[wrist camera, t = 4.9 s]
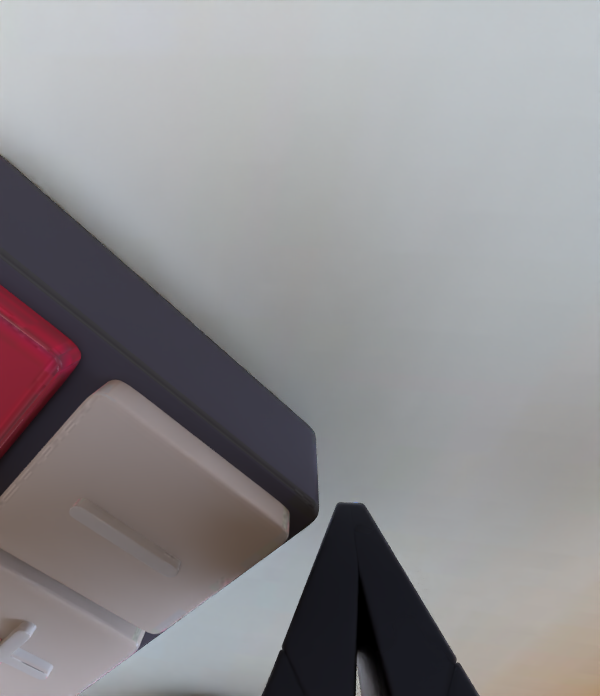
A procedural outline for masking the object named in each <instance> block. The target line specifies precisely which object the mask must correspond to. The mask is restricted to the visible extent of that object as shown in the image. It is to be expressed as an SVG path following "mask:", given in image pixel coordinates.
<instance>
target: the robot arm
mask: <svg viewBox="0 0 600 696" xmlns="http://www.w3.org/2000/svg"><path fill="white" fill-rule="evenodd" d="M456 660H457V659H456V656H455V655H454V653H453V651H452V650H451V648H450V646H449V645H448V643H447V641H446V640H445V638H444V636H443V635H442V633H441V631H440V630H439V628H438V626H437V625H436V623H435V621H434V620H433V618H432V616H431V615H430V613H429V611H428V610H427V608H426V606H425V605H424V603H423V601H422V600H421V598H420V596H419V595H418V593H417V591H416V590H415V588H414V586H413V585H412V583H411V581H410V580H409V578H408V576H407V575H406V573H405V571H404V570H403V568H402V566H401V565H400V563H399V561H398V560H397V558H396V556H395V555H394V553H393V551H392V550H391V548H390V546H389V545H388V543H387V541H386V540H385V538H384V536H383V535H382V533H381V531H380V530H379V528H378V526H377V525H376V523H375V521H374V520H373V518H372V516H371V515H370V513H369V511H368V510H367V508H366V507H365V505H364V504H362V503H344V502H339V503H338V504H337V505H336V507H335V510H334V512H333V515H332V518H331V520H330V523H329V525H328V528H327V531H326V533H325V536H324V538H323V541H322V543H321V546H320V549H319V551H318V554H317V556H316V559H315V562H314V564H313V567H312V569H311V572H310V575H309V577H308V580H307V582H306V585H305V587H304V590H303V593H302V595H301V598H300V600H299V603H298V606H297V608H296V611H295V613H294V616H293V619H292V621H291V624H290V626H289V629H288V632H287V634H286V637H285V639H284V642H283V644H282V650H280V652H279V654H278V657H277V659H276V662H275V664H274V667H273V670H272V672H271V675H270V677H269V679H268V682H267V684H266V687H265V689H264V691H263V694H262V696H356V669H358V676H359V683H360V690H361V696H479V694H478V693H477V691H476V689H475V688H474V686H473V684H472V683H471V681H470V679H469V678H468V676H467V674H466V673H465V671H464V669H463V668H462V666H461V664H460V663H456Z"/></svg>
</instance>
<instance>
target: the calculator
mask: <svg viewBox="0 0 600 696" xmlns="http://www.w3.org/2000/svg"><path fill="white" fill-rule="evenodd" d="M318 512H319V498H318V474H317V454H316V438H315V433H314V431H313V430H312V429H311V428H310V427H309V426H308V425H307V424H306V423H305V422H304V421H303V420H302V419H301V418H299V417H298V416H297V415H296V414H295V413H294V412H293V411H291V410H290V409H289V408H288V407H287V406H286V405H285V404H284V403H282V402H281V401H280V400H279V399H278V398H277V397H276V396H274V395H273V394H272V393H271V392H270V391H269V390H268V389H266V388H265V387H264V386H263V385H262V384H261V383H260V382H258V381H257V380H256V379H255V378H254V377H253V376H252V375H250V374H249V373H248V372H247V371H246V370H245V369H244V368H242V367H241V366H240V365H239V364H238V363H237V362H236V361H234V360H233V359H232V358H231V357H230V356H229V355H228V354H227V353H225V352H224V351H223V350H222V349H221V348H220V347H219V346H217V345H216V344H215V343H214V342H213V341H212V340H211V339H209V338H208V337H207V336H206V335H205V334H204V333H203V332H201V331H200V330H199V329H198V328H197V327H196V326H195V325H193V324H192V323H191V322H190V321H189V320H188V319H187V318H185V317H184V316H183V315H182V314H181V313H180V312H179V311H178V310H176V309H175V308H174V307H173V306H172V305H171V304H170V303H168V302H167V301H166V300H165V299H164V298H163V297H162V296H160V295H159V294H158V293H157V292H156V291H155V290H154V289H152V288H151V287H150V286H149V285H148V284H147V283H146V282H144V281H143V280H142V279H141V278H140V277H139V276H138V275H136V274H135V273H134V272H133V271H132V270H131V269H130V268H129V267H127V266H126V265H125V264H124V263H123V262H122V261H121V260H119V259H118V258H117V257H116V256H115V255H114V254H113V253H111V252H110V251H109V250H108V249H107V248H106V247H105V246H103V245H102V244H101V243H100V242H99V241H98V240H97V239H95V238H94V237H93V236H92V235H91V234H90V233H89V232H87V231H86V230H85V229H84V228H83V227H82V226H81V225H80V224H78V223H77V222H76V221H75V220H74V219H73V218H72V217H70V216H69V215H68V214H67V213H66V212H65V211H64V210H62V209H61V208H60V207H59V206H58V205H57V204H56V203H54V202H53V201H52V200H51V199H50V198H49V197H48V196H46V195H45V194H44V193H43V192H42V191H41V190H40V189H38V188H37V187H36V186H35V185H34V184H33V183H32V182H31V181H29V180H28V179H27V178H26V177H25V176H24V175H23V174H21V173H20V172H19V171H18V170H17V169H16V168H15V167H13V166H12V165H11V164H10V163H9V162H8V161H7V160H5V159H4V158H3V157H2V156H1V155H0V696H77V695H78V694H79V693H81V692H82V691H84V690H85V689H86V688H88V687H89V686H90V685H92V684H93V683H94V682H96V681H97V680H99V679H100V678H101V677H103V676H104V675H105V674H107V673H108V672H109V671H111V670H112V669H114V668H115V667H116V666H118V665H119V664H120V663H122V662H123V661H124V660H126V659H127V658H129V657H130V656H131V655H133V654H134V653H135V652H137V651H138V650H139V649H141V648H142V647H144V646H145V645H146V644H148V643H149V642H150V641H152V640H153V639H154V638H156V637H157V636H159V635H160V634H161V633H163V632H164V631H165V630H167V629H168V628H169V627H171V626H172V625H174V624H175V623H176V622H178V621H179V620H180V619H182V618H183V617H184V616H186V615H187V614H189V613H190V612H191V611H193V610H194V609H195V608H197V607H198V606H199V605H201V604H202V603H204V602H205V601H206V600H208V599H209V598H210V597H212V596H213V595H214V594H216V593H217V592H219V591H220V590H221V589H223V588H224V587H225V586H227V585H228V584H229V583H231V582H232V581H234V580H235V579H236V578H238V577H239V576H240V575H242V574H243V573H244V572H246V571H247V570H249V569H250V568H251V567H253V566H254V565H255V564H257V563H258V562H259V561H261V560H262V559H264V558H265V557H266V556H268V555H269V554H270V553H272V552H273V551H274V550H276V549H277V548H279V547H280V546H281V545H283V544H284V543H285V542H287V541H288V540H289V539H291V538H292V537H294V536H295V535H296V534H298V533H299V532H300V531H302V530H303V529H304V528H306V527H307V526H308V525H310V524H311V523H312V522H313V521H314V520H315V519H316V517H317V515H318Z"/></svg>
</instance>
